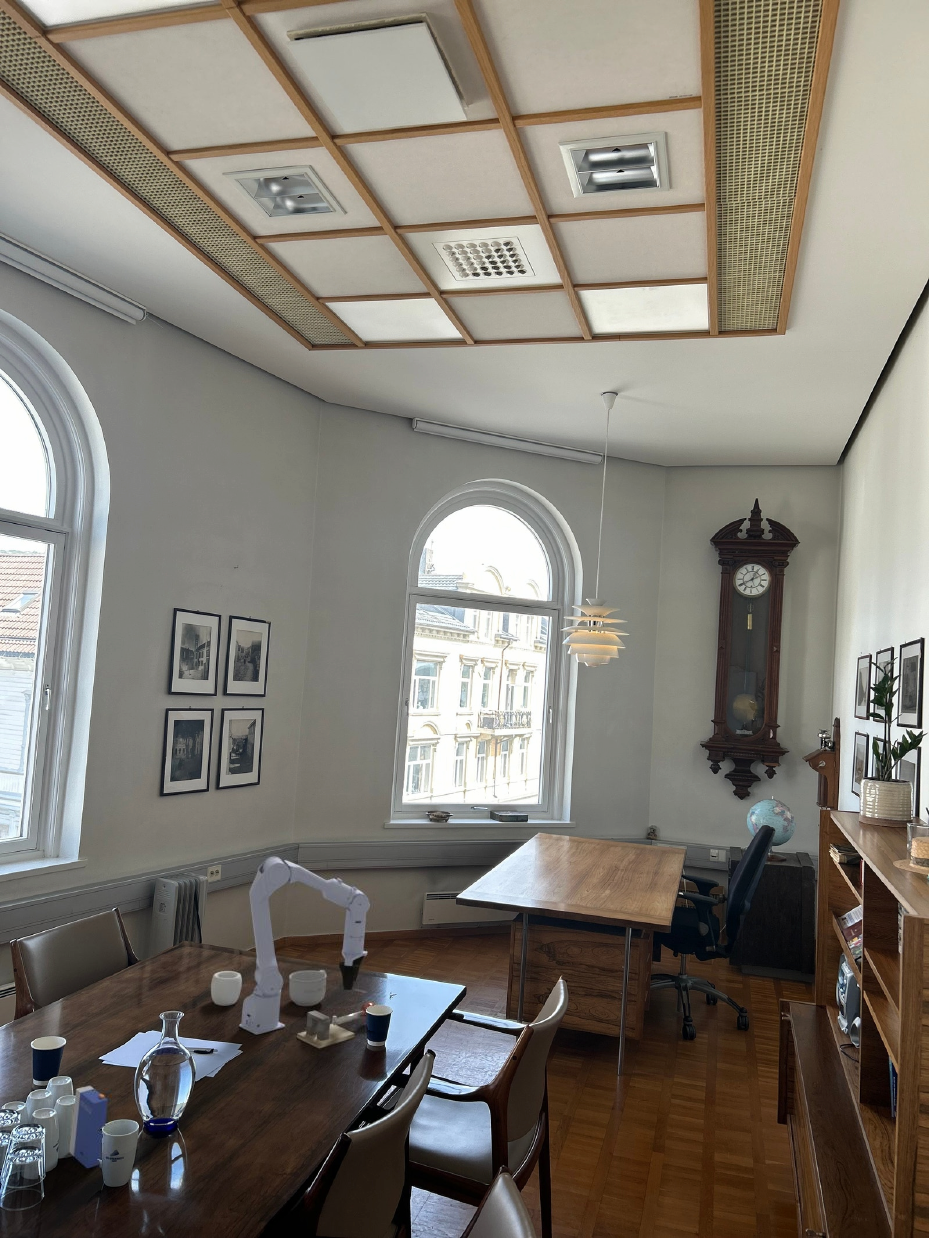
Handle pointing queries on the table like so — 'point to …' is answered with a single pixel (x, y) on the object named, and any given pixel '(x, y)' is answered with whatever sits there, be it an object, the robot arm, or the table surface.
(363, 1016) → the hook rod
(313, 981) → the teacup
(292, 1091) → the table surface
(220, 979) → the mug
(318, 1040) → the eye bracket
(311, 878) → the robot arm
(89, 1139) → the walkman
